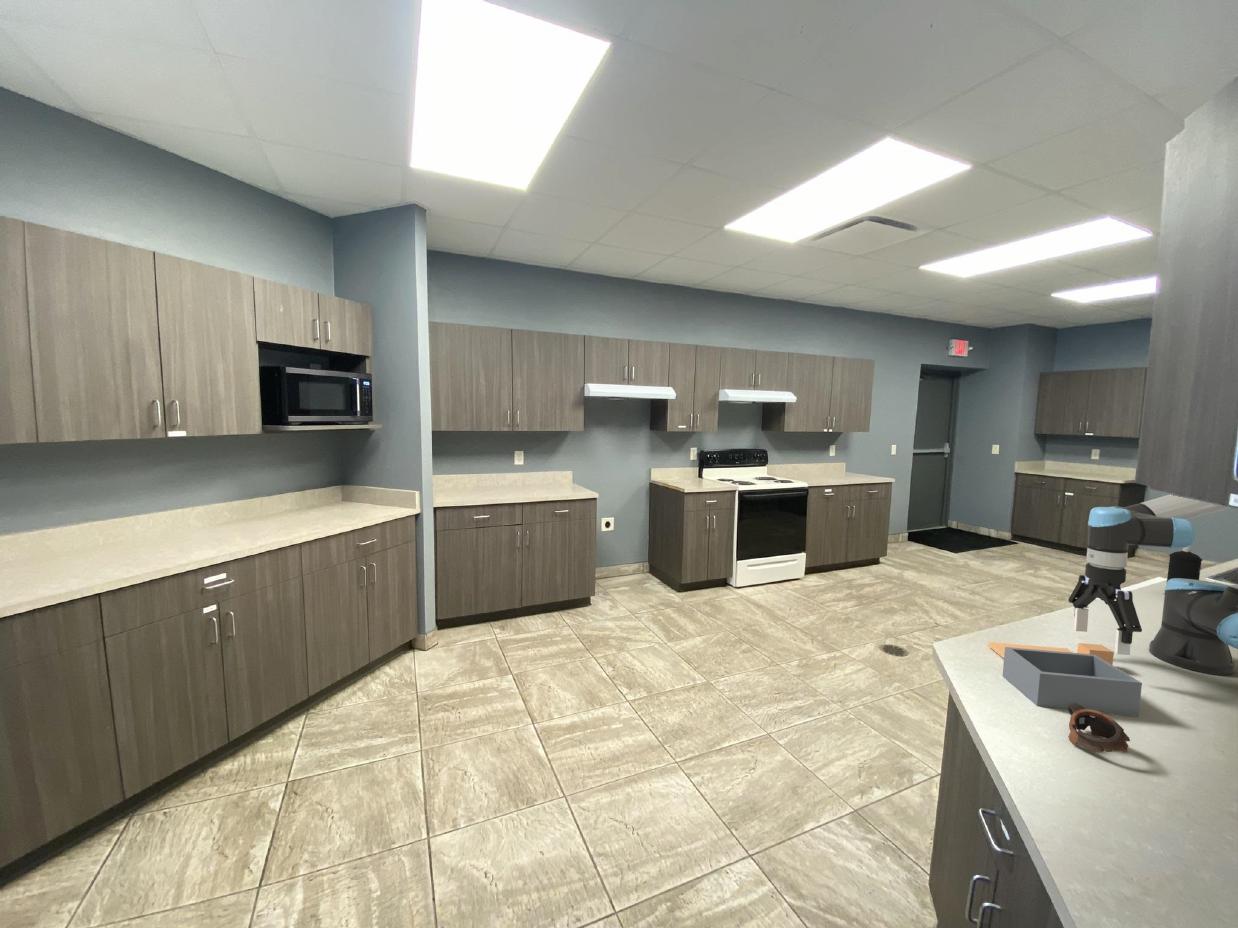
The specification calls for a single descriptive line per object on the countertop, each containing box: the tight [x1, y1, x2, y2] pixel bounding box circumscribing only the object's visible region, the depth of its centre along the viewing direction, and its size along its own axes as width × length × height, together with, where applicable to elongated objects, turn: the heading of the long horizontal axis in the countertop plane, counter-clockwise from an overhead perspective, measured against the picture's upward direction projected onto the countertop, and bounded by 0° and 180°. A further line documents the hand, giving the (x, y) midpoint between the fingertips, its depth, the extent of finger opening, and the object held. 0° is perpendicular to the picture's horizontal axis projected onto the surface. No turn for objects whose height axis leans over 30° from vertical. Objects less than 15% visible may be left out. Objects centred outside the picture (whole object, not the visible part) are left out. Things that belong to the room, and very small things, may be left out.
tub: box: [1002, 647, 1143, 717], centre depth 113 cm, size 20×13×8 cm, turn 79°
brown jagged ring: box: [1067, 702, 1131, 753], centre depth 97 cm, size 12×10×8 cm
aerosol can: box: [1163, 545, 1203, 595], centre depth 178 cm, size 8×8×20 cm
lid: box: [987, 641, 1115, 666], centre depth 129 cm, size 25×13×6 cm, turn 80°
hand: (1100, 641), depth 126 cm, fingers open, 13 cm apart
